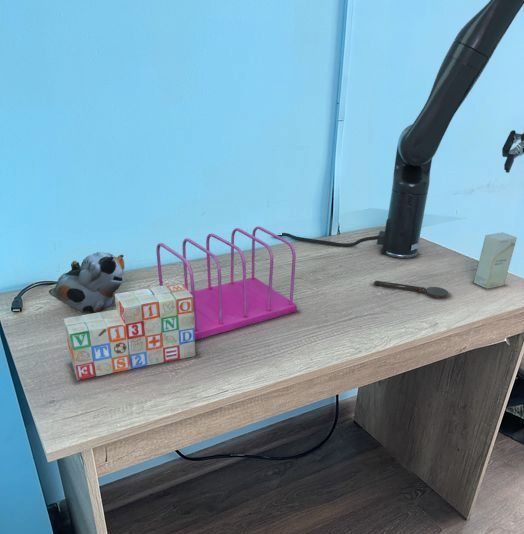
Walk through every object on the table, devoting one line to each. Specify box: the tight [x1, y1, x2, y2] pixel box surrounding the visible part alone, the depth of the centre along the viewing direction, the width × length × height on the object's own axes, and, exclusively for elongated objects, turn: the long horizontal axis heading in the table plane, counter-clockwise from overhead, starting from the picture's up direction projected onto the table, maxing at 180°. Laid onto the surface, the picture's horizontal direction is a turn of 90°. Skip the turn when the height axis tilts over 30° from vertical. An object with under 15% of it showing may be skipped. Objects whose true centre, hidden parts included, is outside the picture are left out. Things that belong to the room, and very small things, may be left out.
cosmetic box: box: [473, 232, 518, 290], centre depth 127 cm, size 6×4×12 cm
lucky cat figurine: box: [48, 251, 125, 314], centre depth 113 cm, size 15×12×14 cm
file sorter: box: [155, 226, 297, 341], centre depth 111 cm, size 17×25×16 cm
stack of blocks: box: [63, 283, 197, 381], centre depth 93 cm, size 21×6×12 cm, turn 115°
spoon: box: [373, 280, 449, 300], centre depth 125 cm, size 17×5×1 cm, turn 72°
